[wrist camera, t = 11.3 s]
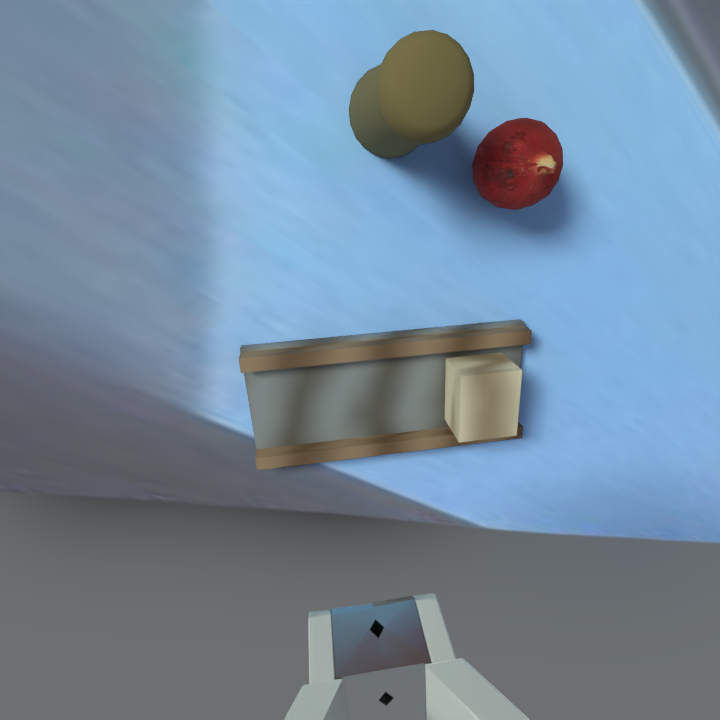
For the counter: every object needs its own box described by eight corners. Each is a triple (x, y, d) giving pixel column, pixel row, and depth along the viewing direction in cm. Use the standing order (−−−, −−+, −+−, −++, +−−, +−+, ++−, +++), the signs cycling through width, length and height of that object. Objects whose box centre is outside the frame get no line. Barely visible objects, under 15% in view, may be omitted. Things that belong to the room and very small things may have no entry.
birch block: (501, 352, 40) (522, 370, 36) (497, 413, 42) (516, 435, 39) (445, 357, 40) (461, 376, 36) (444, 419, 42) (459, 442, 38)
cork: (404, 43, 31) (456, -20, 21) (446, 126, 34) (511, 104, 24) (332, 97, 32) (348, 61, 22) (378, 175, 34) (412, 175, 24)
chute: (520, 319, 40) (532, 327, 38) (511, 428, 44) (521, 440, 42) (241, 345, 38) (238, 355, 36) (259, 458, 42) (257, 472, 40)
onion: (462, 213, 36) (505, 222, 29) (454, 133, 34) (497, 121, 27) (533, 197, 36) (593, 202, 29) (529, 117, 34) (593, 100, 27)
